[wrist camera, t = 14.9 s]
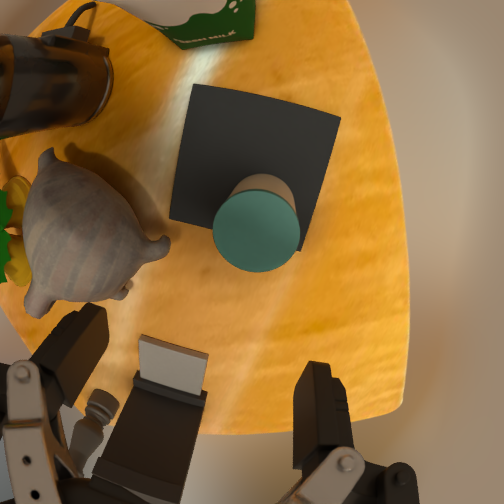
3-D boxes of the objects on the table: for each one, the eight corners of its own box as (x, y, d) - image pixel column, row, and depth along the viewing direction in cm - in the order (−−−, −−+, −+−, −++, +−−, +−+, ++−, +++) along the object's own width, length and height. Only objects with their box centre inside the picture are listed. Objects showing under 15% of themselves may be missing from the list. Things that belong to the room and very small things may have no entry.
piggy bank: (107, 319, 36) (18, 336, 24) (79, 221, 40) (-1, 218, 27) (190, 259, 29) (59, 267, 16) (144, 141, 32) (43, 113, 20)
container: (237, 165, 27) (222, 181, 20) (303, 182, 27) (311, 204, 20) (223, 226, 29) (206, 260, 23) (285, 242, 29) (285, 281, 23)
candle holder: (105, 407, 50) (63, 498, 28) (88, 388, 48) (38, 481, 25) (125, 408, 49) (82, 507, 26) (106, 389, 46) (55, 491, 24)
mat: (195, 84, 24) (193, 83, 23) (339, 117, 24) (341, 117, 24) (171, 216, 30) (168, 218, 30) (300, 248, 30) (300, 252, 30)
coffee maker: (135, 331, 38) (71, 445, 20) (215, 356, 38) (180, 488, 20) (139, 395, 46) (101, 485, 28) (202, 415, 46) (177, 512, 28)
